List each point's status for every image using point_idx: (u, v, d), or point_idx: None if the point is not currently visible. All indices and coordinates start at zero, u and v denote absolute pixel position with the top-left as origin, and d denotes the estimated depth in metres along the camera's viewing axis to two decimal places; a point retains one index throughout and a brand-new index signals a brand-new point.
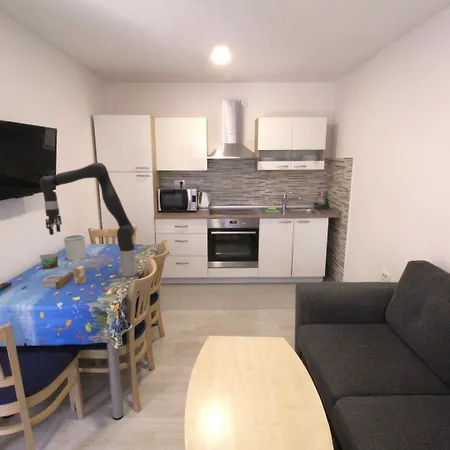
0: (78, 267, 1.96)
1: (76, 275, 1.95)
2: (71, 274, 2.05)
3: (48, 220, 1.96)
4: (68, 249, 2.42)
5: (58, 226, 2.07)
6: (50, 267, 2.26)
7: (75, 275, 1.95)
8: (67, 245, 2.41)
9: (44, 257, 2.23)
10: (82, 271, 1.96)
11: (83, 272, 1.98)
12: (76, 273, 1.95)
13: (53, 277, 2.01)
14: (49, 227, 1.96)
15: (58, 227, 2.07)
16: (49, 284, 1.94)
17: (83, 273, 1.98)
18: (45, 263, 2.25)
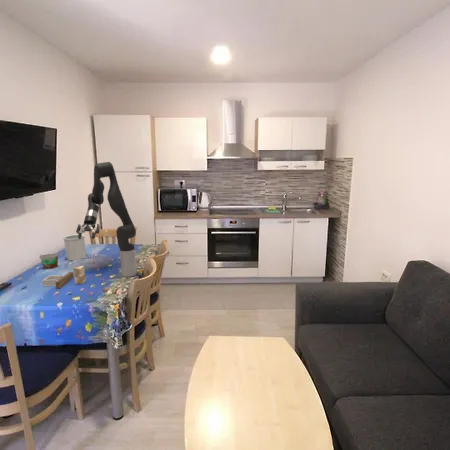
0: (78, 267, 1.96)
1: (76, 275, 1.95)
2: (71, 274, 2.05)
3: None
4: (68, 249, 2.42)
5: None
6: (50, 267, 2.26)
7: (75, 275, 1.95)
8: (67, 245, 2.41)
9: (44, 257, 2.23)
10: (82, 271, 1.96)
11: (83, 272, 1.98)
12: (76, 273, 1.95)
13: (53, 277, 2.01)
14: None
15: None
16: (49, 284, 1.94)
17: (83, 273, 1.98)
18: (45, 263, 2.25)
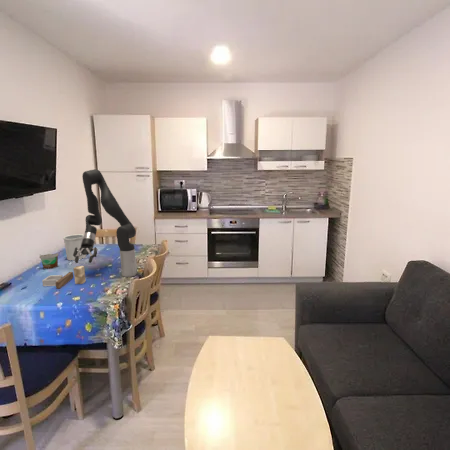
0: (78, 267, 1.96)
1: (76, 275, 1.95)
2: (71, 274, 2.05)
3: None
4: (68, 249, 2.42)
5: None
6: (50, 267, 2.26)
7: (75, 275, 1.95)
8: (67, 245, 2.41)
9: (44, 257, 2.23)
10: (82, 271, 1.96)
11: (83, 272, 1.98)
12: (76, 273, 1.95)
13: (53, 277, 2.01)
14: (73, 254, 2.05)
15: None
16: (49, 284, 1.94)
17: (83, 273, 1.98)
18: (45, 263, 2.25)
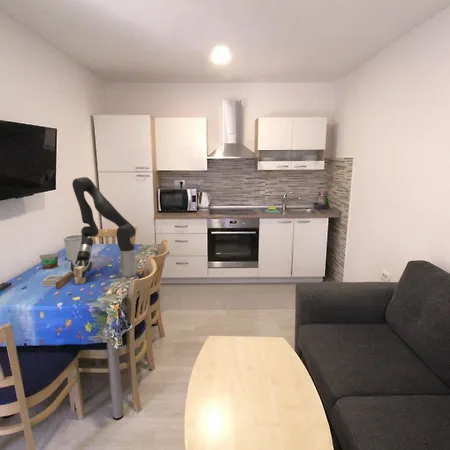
0: (78, 267, 1.96)
1: (76, 275, 1.95)
2: (71, 274, 2.05)
3: None
4: (68, 249, 2.42)
5: None
6: (50, 267, 2.26)
7: (75, 275, 1.95)
8: (67, 245, 2.41)
9: (44, 257, 2.23)
10: (82, 271, 1.96)
11: None
12: (76, 273, 1.95)
13: (53, 277, 2.01)
14: (71, 269, 1.98)
15: None
16: (49, 284, 1.94)
17: None
18: (45, 263, 2.25)
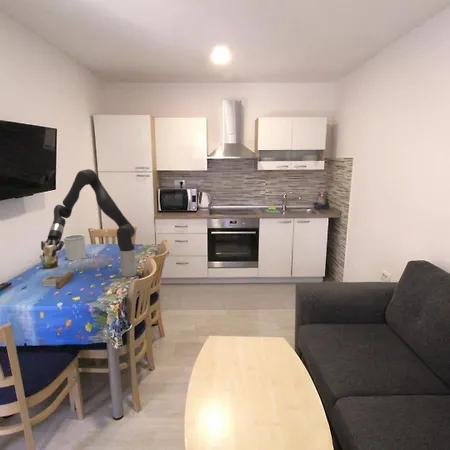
0: (48, 246, 1.93)
1: (46, 254, 1.92)
2: (71, 274, 2.05)
3: None
4: (68, 249, 2.42)
5: None
6: (50, 267, 2.26)
7: (45, 254, 1.92)
8: (67, 245, 2.41)
9: (44, 257, 2.23)
10: (52, 250, 1.94)
11: None
12: (46, 252, 1.92)
13: (53, 277, 2.01)
14: (41, 248, 1.95)
15: None
16: (49, 284, 1.94)
17: None
18: (45, 263, 2.25)
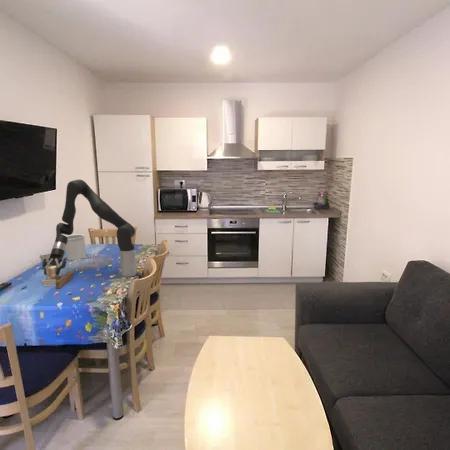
0: (51, 267, 1.96)
1: (49, 275, 1.95)
2: (71, 274, 2.05)
3: None
4: (68, 249, 2.42)
5: None
6: None
7: (48, 275, 1.95)
8: (67, 245, 2.41)
9: (44, 257, 2.23)
10: (55, 271, 1.96)
11: None
12: (49, 273, 1.95)
13: None
14: None
15: None
16: (49, 284, 1.94)
17: None
18: None
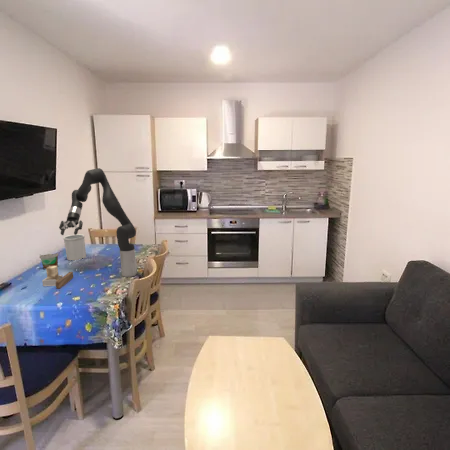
0: (51, 267, 1.96)
1: (49, 275, 1.95)
2: (71, 274, 2.05)
3: None
4: (68, 249, 2.42)
5: None
6: None
7: (48, 275, 1.95)
8: (67, 245, 2.41)
9: (44, 257, 2.23)
10: (55, 271, 1.96)
11: (56, 271, 1.97)
12: (49, 273, 1.95)
13: None
14: (59, 227, 2.14)
15: None
16: (49, 284, 1.94)
17: (56, 273, 1.98)
18: (45, 263, 2.25)
